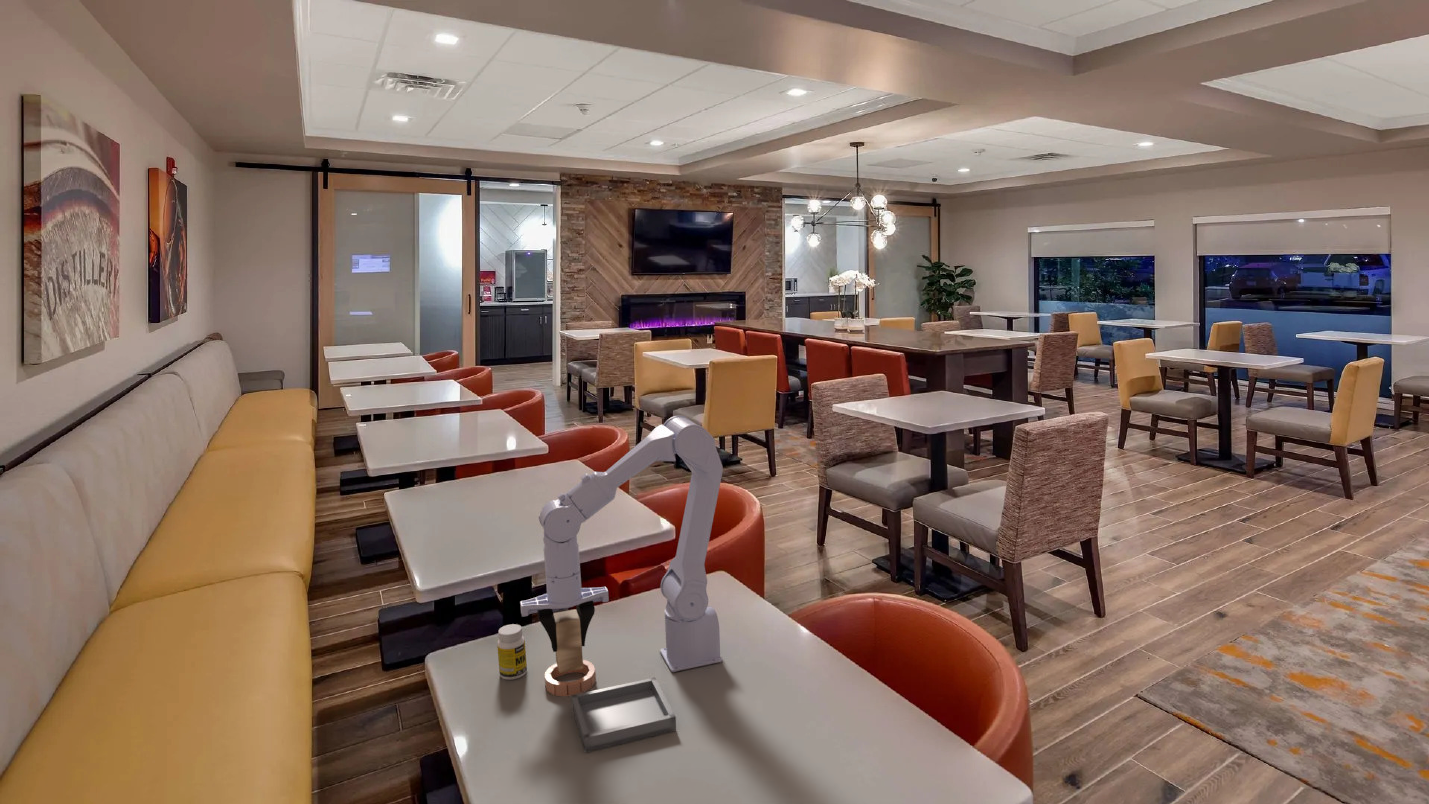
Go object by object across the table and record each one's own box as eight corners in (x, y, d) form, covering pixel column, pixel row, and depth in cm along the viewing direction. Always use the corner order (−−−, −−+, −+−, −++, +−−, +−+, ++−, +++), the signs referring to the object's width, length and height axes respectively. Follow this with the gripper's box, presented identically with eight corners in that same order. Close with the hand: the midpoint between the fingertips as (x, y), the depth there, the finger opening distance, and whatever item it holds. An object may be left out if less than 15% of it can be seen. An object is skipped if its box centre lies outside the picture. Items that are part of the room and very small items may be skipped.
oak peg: (579, 656, 131) (575, 609, 129) (583, 668, 127) (579, 619, 126) (556, 661, 130) (552, 613, 128) (559, 673, 126) (555, 623, 124)
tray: (655, 690, 126) (655, 677, 125) (676, 730, 115) (675, 716, 114) (572, 708, 121) (571, 695, 121) (585, 752, 110) (584, 738, 110)
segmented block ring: (590, 665, 134) (589, 655, 134) (599, 689, 127) (598, 679, 126) (543, 675, 132) (542, 664, 131) (549, 700, 124) (548, 689, 123)
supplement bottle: (519, 681, 130) (516, 636, 128) (494, 679, 131) (490, 634, 129) (531, 667, 134) (528, 623, 133) (507, 665, 135) (503, 622, 134)
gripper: (601, 556, 131) (605, 628, 134) (516, 569, 127) (522, 643, 129) (609, 571, 125) (613, 646, 127) (520, 585, 120) (526, 663, 123)
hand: (568, 646), depth 128 cm, fingers closed on oak peg, 4 cm apart
